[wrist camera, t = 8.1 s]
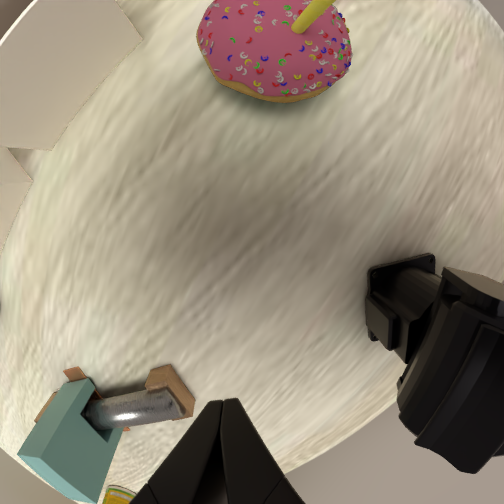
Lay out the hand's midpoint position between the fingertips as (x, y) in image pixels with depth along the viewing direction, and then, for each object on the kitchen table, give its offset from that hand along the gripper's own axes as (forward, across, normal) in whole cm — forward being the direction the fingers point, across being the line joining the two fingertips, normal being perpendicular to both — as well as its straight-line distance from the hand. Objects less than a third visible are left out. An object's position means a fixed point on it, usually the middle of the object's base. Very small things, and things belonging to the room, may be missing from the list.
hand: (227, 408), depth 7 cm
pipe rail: (+13, +13, +11) cm, 21 cm away
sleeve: (+13, +17, +11) cm, 24 cm away
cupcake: (+13, -5, -14) cm, 20 cm away
